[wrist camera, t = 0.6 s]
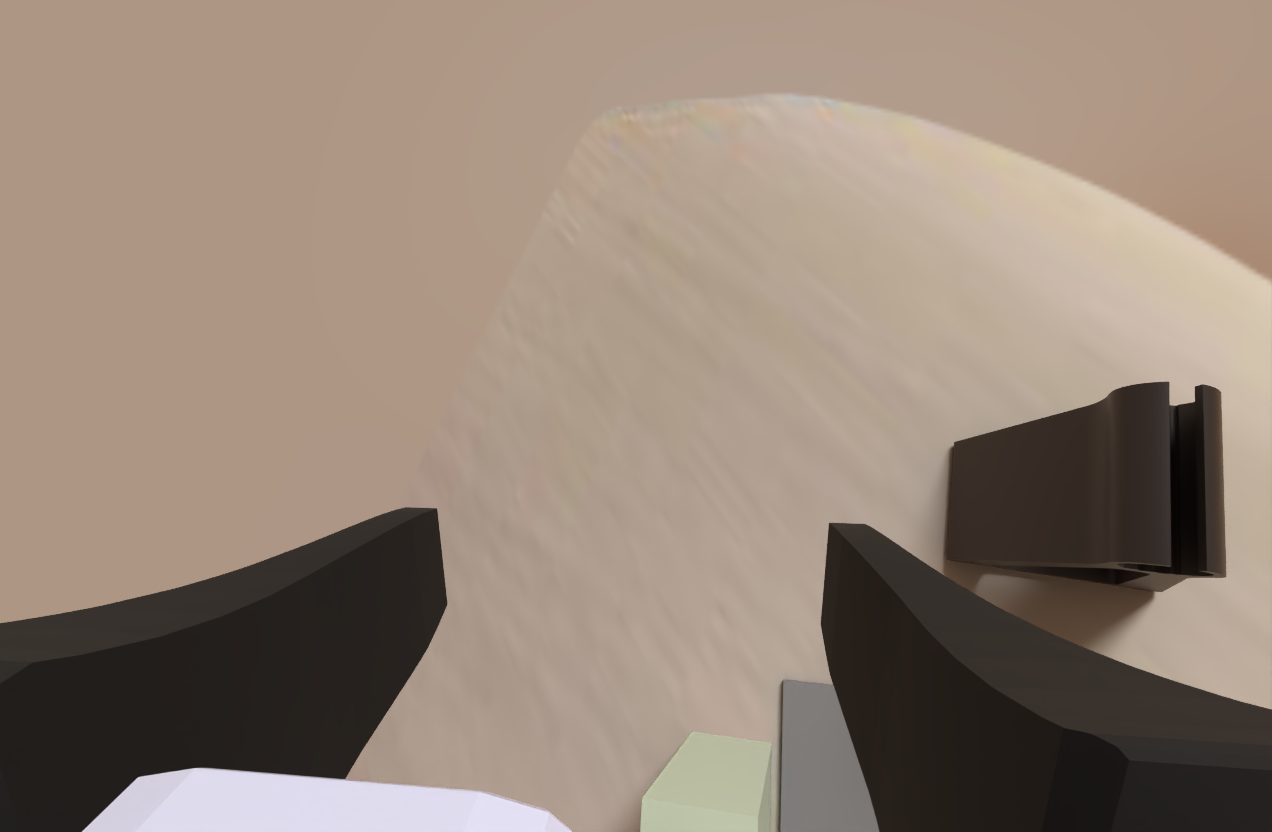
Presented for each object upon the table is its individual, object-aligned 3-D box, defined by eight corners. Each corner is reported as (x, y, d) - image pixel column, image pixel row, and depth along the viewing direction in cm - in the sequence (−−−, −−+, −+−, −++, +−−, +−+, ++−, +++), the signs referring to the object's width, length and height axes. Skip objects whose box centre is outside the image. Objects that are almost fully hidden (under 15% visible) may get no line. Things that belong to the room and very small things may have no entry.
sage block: (769, 832, 31) (754, 956, 21) (687, 818, 32) (633, 929, 22) (771, 742, 32) (757, 817, 22) (692, 731, 33) (642, 797, 23)
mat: (1125, 977, 26) (1129, 981, 26) (779, 907, 30) (778, 910, 30) (1102, 715, 29) (1105, 717, 29) (783, 679, 32) (783, 680, 32)
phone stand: (944, 559, 32) (1022, 544, 21) (952, 442, 33) (1030, 369, 22) (1156, 593, 30) (1375, 597, 18) (1157, 465, 31) (1362, 396, 20)
